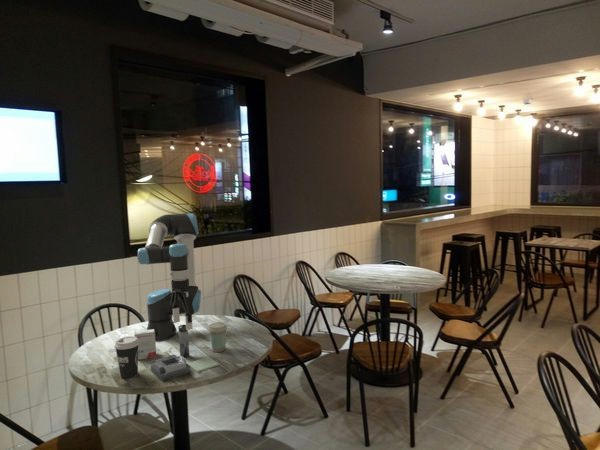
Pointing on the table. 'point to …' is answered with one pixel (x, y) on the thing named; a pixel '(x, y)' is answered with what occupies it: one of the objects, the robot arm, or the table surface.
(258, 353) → the table surface
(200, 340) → the table surface
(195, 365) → the mat
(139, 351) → the ink box
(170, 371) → the block
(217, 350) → the coffee cup
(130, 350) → the coffee cup
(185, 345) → the dark glossy cylinder
